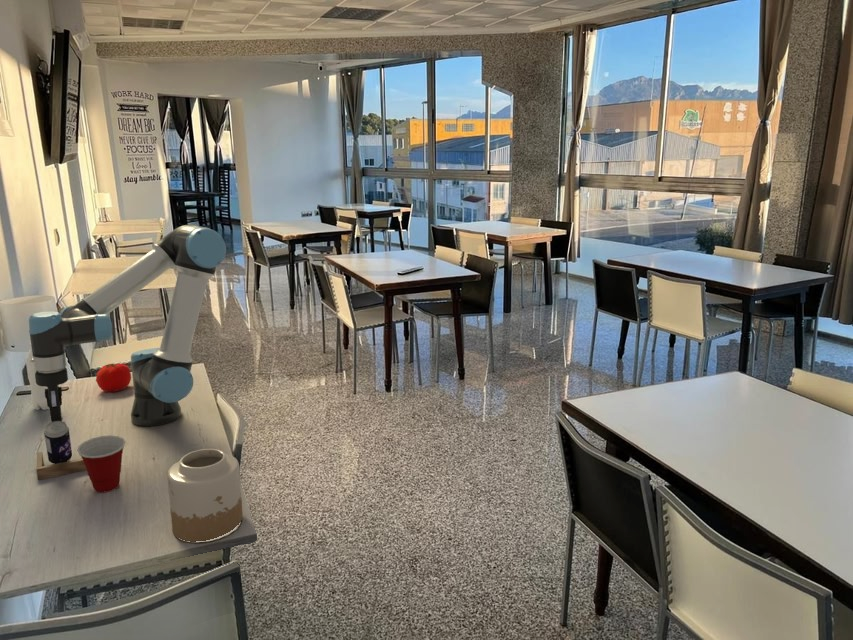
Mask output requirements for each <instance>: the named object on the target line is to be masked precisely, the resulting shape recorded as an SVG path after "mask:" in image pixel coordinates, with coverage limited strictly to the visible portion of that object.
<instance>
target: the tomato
mask: <svg viewBox="0 0 853 640" xmlns="http://www.w3.org/2000/svg"><path fill="white" fill-rule="evenodd" d="M131 380H132V372H131V369H130V367H129V366H127V364H125V363H122V361H120V362H119V363H118V362H117V363H108V364H105V365H103V366H102V367H101V369H99V370H98V371H97V373H96V379H95V381H96V383H97V386H98V387H99V388H100V389H101V390H102V391H104V392H105V393H106V392H107V393H111V392H120V391H121V390H124V389H125V388H128V386H129V385H130V384H131Z"/></svg>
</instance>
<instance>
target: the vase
mask: <svg viewBox="0 0 853 640" xmlns="http://www.w3.org/2000/svg"><path fill="white" fill-rule="evenodd" d="M240 469H241V468H240V463H239V461H238V459H237V458H236V457H235V456H233V455H231V454H228V453H225V452H224V451H223V450H220V449H217V448H202V449H197V450H193V451H191V452H188V453H186V454H185V455H183V456H182V457H181V458H180V460H178V461H176V463H174V464H172V465H171V466H170V468H169V469H168V471H167V486H168V499H169V509H170V510H169V511H170V518H171V527H172V528H171V529H172V533H173V535H174V537H175V538H177V537H178V538H180V539H182V540H185V541H190V542H196V541H206V540H210V539H214V538H217V537H219V536H222V535H224V534H226V533H228V532H230V531H231V530H233V529H234V528H235V527H236V526H237V525H239V523H240V522H241V520H242V521H243V518H242V516H243V502H242V501H243V500H242V499H243V498H242V489H241V487H242V486H241V471H240ZM243 517H244V516H243ZM178 538H177V539H178Z"/></svg>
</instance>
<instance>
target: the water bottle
mask: <svg viewBox="0 0 853 640" xmlns="http://www.w3.org/2000/svg"><path fill="white" fill-rule="evenodd" d="M28 344H29V345H30V346H29V347H30V348H29V351H28V353H27V354H26V357H25V364H26V372H27V380H28V382H29V385H30V392H31V393H30V394H31V396H30V400H31V405H32V407H33V408H34V409H35V410H36V411H39V410H42V411H43V410H44V411H46V410H50V409H49V407H48V406H47V399H46V398H45V388H48V387H46V386H39V385H37V384H36V380H35V372H36V370H35V369H34V362H31V361H30V360H31V359H33V354H32V347H31V340H30V336H29V343H28Z"/></svg>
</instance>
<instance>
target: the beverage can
mask: <svg viewBox="0 0 853 640" xmlns="http://www.w3.org/2000/svg"><path fill="white" fill-rule="evenodd" d="M43 433H44V434H43V435H44V441H45V447H46V453H47V458H48V459H47V460H48V462H49V463H51V464H57V463H62V462H67V461H71V458H72V457H73V449H72V443H71V435H70V429H69V426H68V425H67V423H66V421H63V420H62V421H54V422H51V421H50V422H49V423H48V424H47V425H46V426H45V429H44V431H43Z"/></svg>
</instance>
